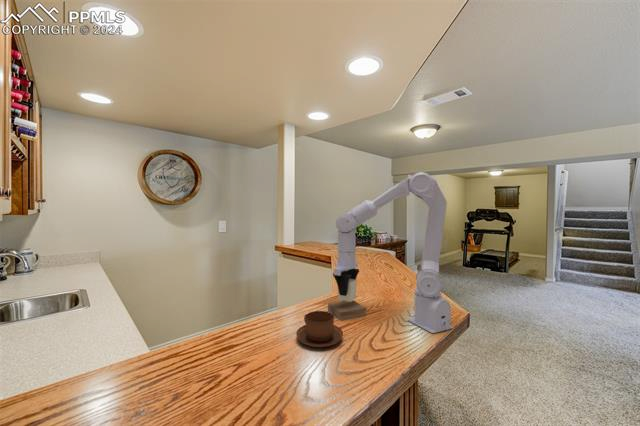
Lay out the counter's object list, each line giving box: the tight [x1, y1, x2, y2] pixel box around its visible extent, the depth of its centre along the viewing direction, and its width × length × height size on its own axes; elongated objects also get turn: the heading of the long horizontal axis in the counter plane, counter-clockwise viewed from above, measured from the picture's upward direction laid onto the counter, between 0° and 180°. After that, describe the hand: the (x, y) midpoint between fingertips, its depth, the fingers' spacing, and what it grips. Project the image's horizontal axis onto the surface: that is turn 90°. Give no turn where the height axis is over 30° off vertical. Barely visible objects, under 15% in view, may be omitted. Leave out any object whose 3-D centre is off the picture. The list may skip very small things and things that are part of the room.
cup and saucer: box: [296, 310, 344, 348], centre depth 69 cm, size 12×12×6 cm
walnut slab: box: [327, 300, 367, 322], centre depth 86 cm, size 9×9×3 cm
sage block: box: [337, 278, 357, 302], centre depth 86 cm, size 4×4×6 cm
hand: (346, 292), depth 86 cm, fingers closed on sage block, 4 cm apart
